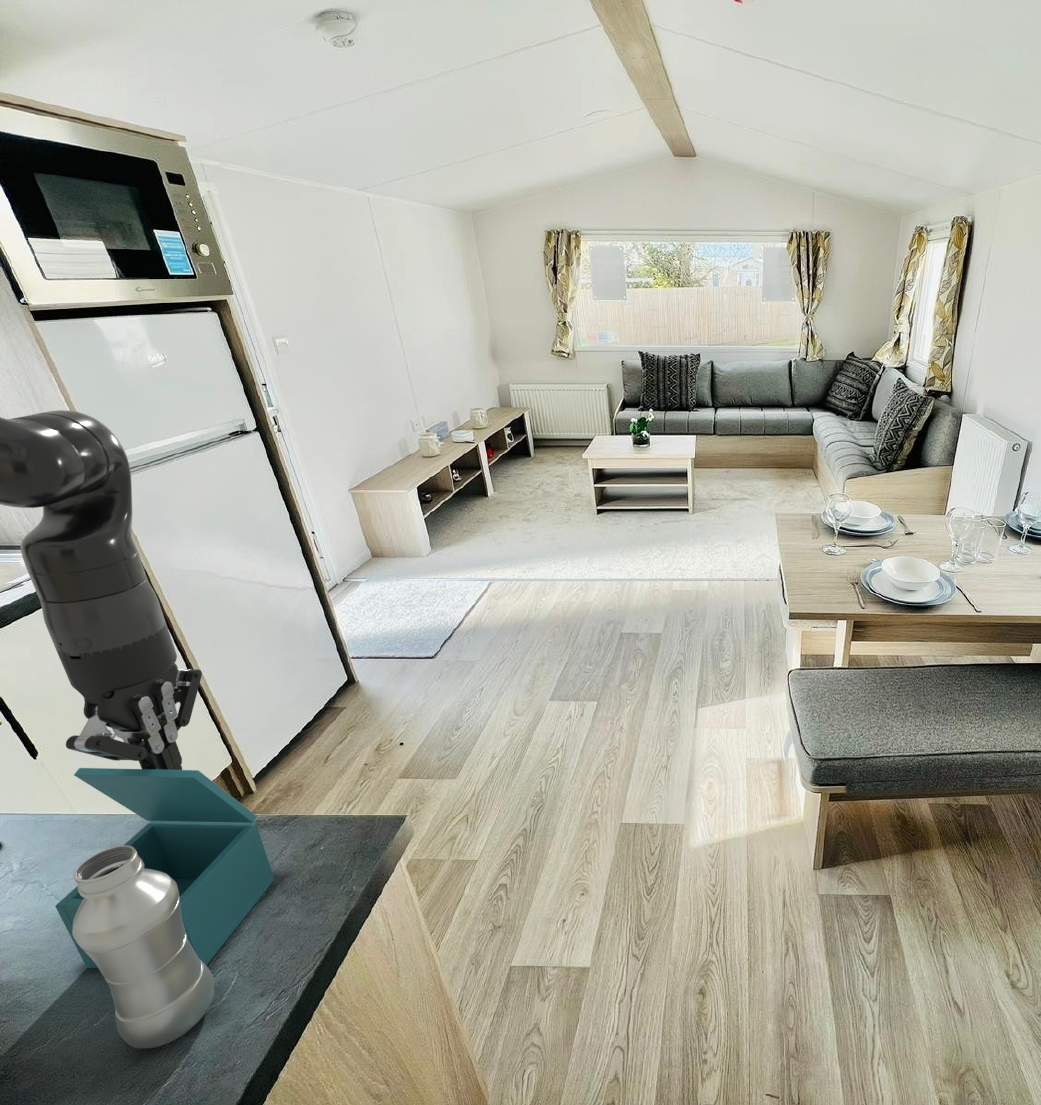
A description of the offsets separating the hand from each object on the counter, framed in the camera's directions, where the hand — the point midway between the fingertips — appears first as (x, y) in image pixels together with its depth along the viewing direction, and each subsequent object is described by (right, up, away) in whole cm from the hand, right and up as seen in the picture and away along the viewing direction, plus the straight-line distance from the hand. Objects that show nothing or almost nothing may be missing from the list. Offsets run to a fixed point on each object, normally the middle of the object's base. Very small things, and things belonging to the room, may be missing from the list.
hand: (166, 776), depth 64 cm
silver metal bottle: (+7, -21, -6) cm, 23 cm away
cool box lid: (0, -3, 0) cm, 3 cm away
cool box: (-1, -17, +3) cm, 17 cm away
